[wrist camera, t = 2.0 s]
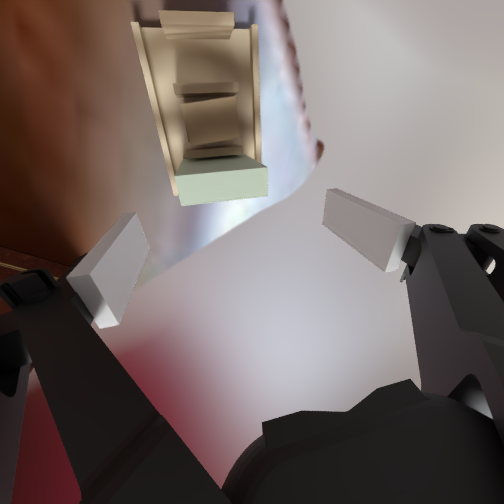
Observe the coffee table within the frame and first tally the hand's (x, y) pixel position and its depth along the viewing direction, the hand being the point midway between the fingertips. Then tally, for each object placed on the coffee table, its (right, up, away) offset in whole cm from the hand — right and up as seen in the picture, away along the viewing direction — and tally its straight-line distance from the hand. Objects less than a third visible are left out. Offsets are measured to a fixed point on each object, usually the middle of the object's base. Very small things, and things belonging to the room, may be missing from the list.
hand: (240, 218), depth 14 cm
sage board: (-5, +12, +20) cm, 24 cm away
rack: (-6, +18, +18) cm, 26 cm away
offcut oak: (-5, +16, +14) cm, 21 cm away
